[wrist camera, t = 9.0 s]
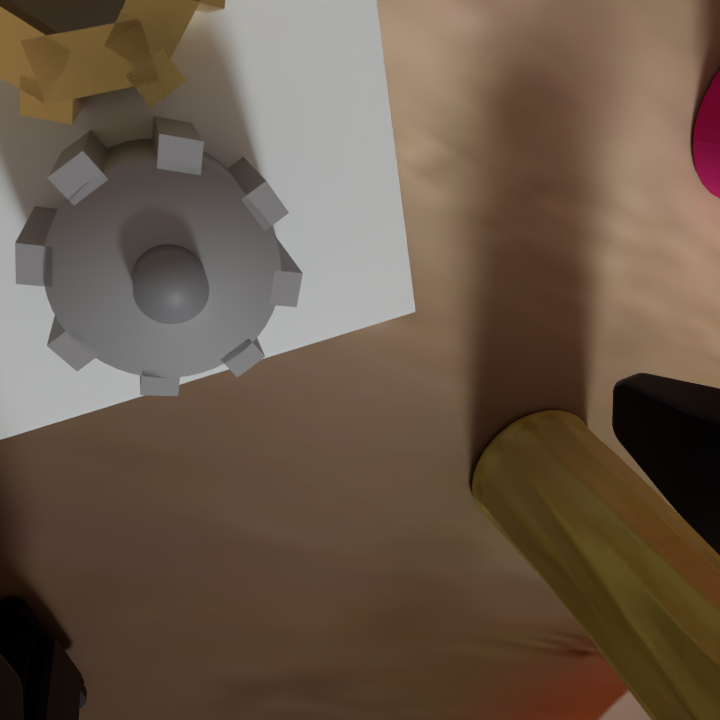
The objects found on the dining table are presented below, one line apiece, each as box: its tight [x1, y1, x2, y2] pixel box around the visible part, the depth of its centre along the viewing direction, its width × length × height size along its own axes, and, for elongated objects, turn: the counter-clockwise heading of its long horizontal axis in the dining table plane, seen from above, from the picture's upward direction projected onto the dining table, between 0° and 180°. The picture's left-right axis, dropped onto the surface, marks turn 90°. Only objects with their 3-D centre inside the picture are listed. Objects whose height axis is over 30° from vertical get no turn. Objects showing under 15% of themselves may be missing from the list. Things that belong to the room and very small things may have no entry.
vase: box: [472, 410, 720, 720], centre depth 21 cm, size 6×6×14 cm
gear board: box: [0, 0, 415, 440], centre depth 13 cm, size 14×18×5 cm
